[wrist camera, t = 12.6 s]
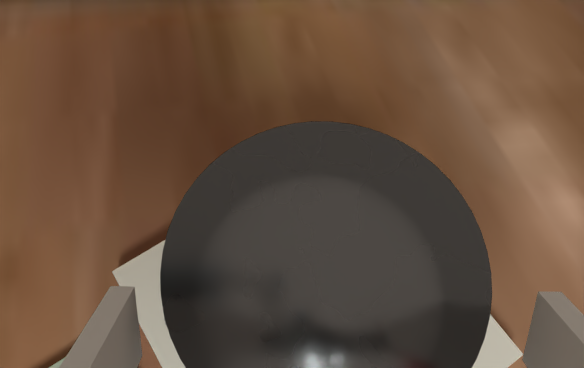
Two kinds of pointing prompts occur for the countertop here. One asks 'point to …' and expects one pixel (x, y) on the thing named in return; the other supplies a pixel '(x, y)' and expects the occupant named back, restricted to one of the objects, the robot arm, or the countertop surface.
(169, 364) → the board
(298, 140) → the grey ribbed cylinder
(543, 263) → the countertop surface
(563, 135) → the countertop surface
